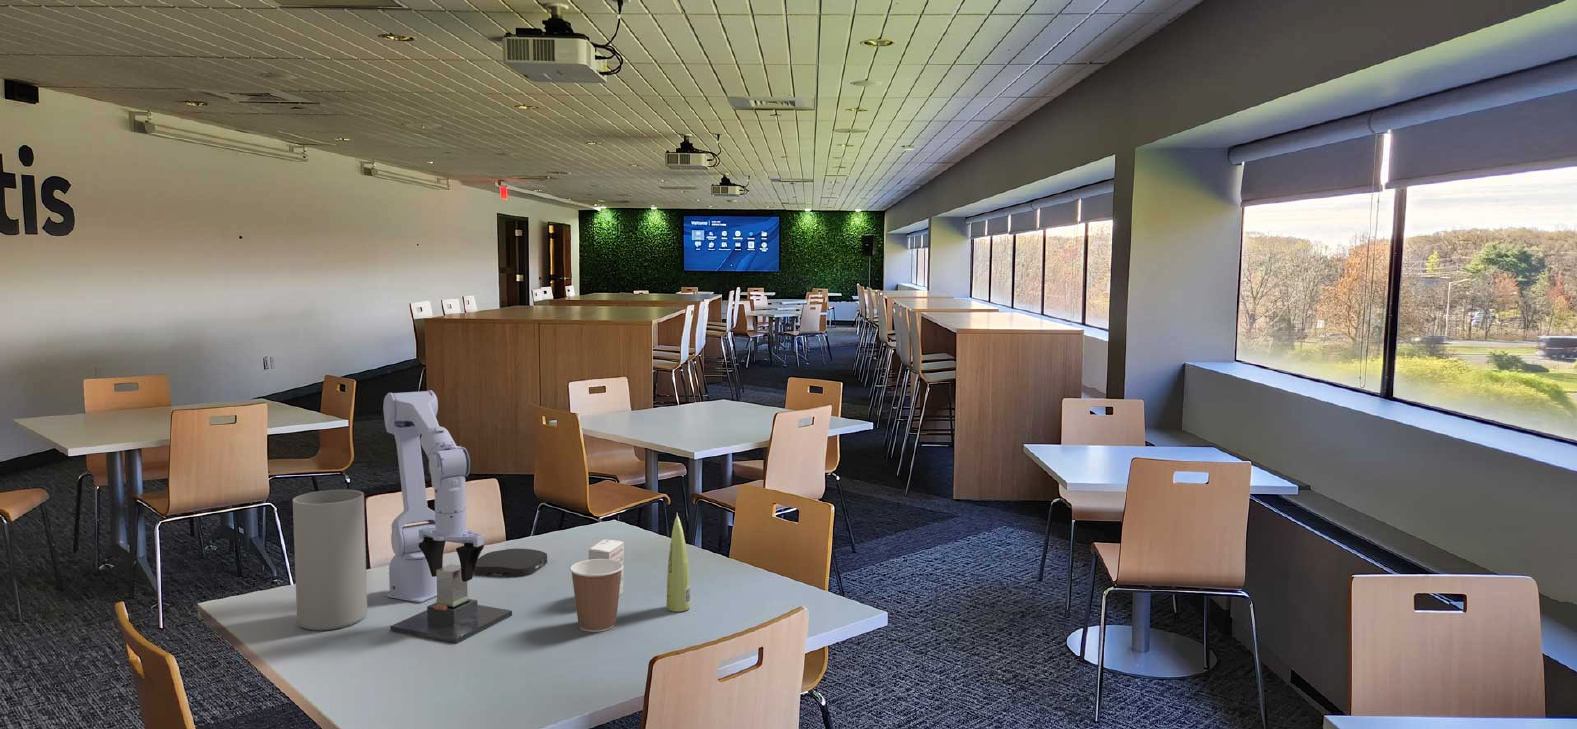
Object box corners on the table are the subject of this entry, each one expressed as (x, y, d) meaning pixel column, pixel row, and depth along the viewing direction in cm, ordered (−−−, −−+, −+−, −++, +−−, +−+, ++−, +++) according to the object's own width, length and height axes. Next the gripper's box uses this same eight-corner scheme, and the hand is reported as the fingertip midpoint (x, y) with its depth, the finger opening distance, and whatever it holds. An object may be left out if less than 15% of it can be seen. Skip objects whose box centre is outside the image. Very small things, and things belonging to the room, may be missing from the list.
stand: (390, 631, 174) (390, 608, 174) (449, 604, 189) (449, 583, 189) (456, 643, 169) (455, 619, 168) (512, 615, 183) (511, 593, 183)
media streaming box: (496, 557, 223) (496, 546, 223) (552, 561, 221) (552, 549, 221) (467, 576, 209) (467, 563, 209) (527, 579, 207) (527, 567, 207)
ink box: (609, 606, 189) (609, 551, 188) (586, 604, 190) (586, 549, 189) (624, 593, 198) (624, 540, 197) (603, 591, 199) (602, 538, 198)
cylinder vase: (282, 626, 176) (277, 500, 174) (334, 605, 188) (330, 487, 186) (331, 635, 172) (326, 506, 170) (381, 613, 184) (378, 493, 181)
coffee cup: (633, 620, 181) (632, 562, 180) (606, 638, 172) (606, 577, 171) (588, 613, 185) (588, 556, 184) (560, 631, 175) (559, 571, 174)
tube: (659, 608, 188) (659, 516, 187) (677, 602, 192) (677, 511, 191) (677, 614, 185) (677, 521, 183) (695, 608, 189) (696, 516, 187)
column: (436, 604, 177) (435, 570, 177) (451, 598, 181) (450, 564, 181) (453, 607, 176) (452, 572, 175) (468, 600, 180) (467, 566, 179)
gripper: (406, 511, 176) (408, 579, 177) (465, 518, 171) (467, 588, 172) (432, 503, 182) (434, 568, 184) (490, 510, 177) (492, 577, 178)
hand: (451, 577), depth 178 cm, fingers open, 7 cm apart
